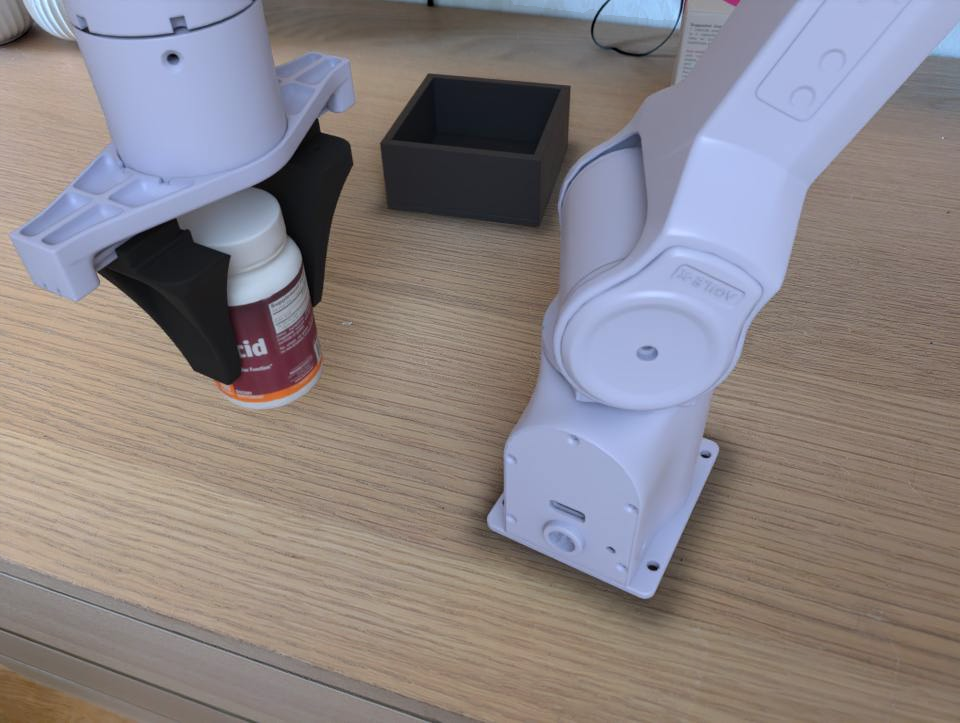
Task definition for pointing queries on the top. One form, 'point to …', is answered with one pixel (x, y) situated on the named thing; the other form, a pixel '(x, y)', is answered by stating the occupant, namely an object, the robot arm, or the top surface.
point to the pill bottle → (262, 298)
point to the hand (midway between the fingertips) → (261, 332)
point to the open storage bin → (477, 148)
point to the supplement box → (698, 32)
